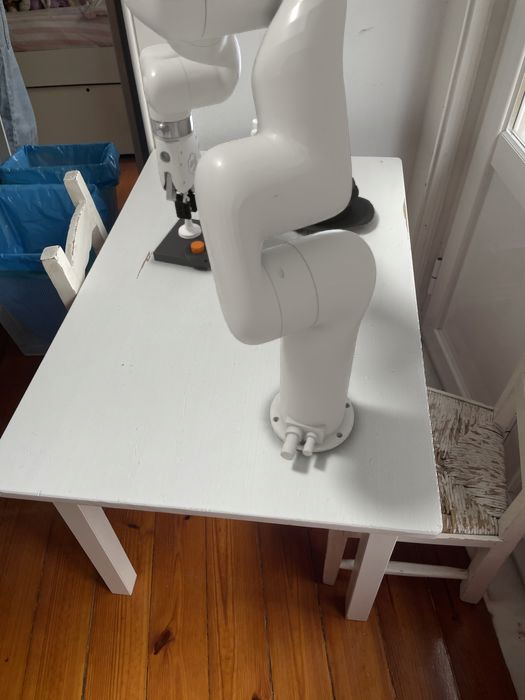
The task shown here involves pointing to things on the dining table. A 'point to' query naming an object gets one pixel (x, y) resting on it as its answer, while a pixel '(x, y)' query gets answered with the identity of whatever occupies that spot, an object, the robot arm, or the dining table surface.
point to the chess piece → (189, 227)
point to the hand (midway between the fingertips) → (187, 213)
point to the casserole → (348, 214)
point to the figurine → (254, 127)
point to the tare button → (197, 247)
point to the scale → (181, 249)
